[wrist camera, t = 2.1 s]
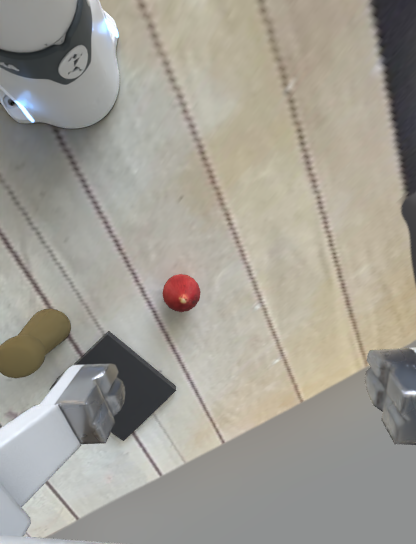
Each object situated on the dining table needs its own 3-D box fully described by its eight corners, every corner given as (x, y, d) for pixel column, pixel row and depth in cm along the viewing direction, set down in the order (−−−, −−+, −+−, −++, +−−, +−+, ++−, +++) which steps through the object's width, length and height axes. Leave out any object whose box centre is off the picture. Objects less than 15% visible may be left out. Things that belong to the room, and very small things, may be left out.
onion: (202, 281, 45) (212, 294, 37) (184, 309, 45) (190, 327, 37) (174, 264, 43) (178, 273, 35) (155, 292, 43) (155, 308, 36)
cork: (62, 349, 42) (31, 392, 32) (23, 337, 41) (-24, 378, 30) (76, 316, 42) (49, 349, 31) (37, 303, 40) (-6, 332, 29)
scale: (50, 383, 43) (42, 394, 40) (106, 329, 43) (103, 336, 40) (124, 434, 47) (122, 448, 44) (175, 385, 47) (176, 396, 44)
